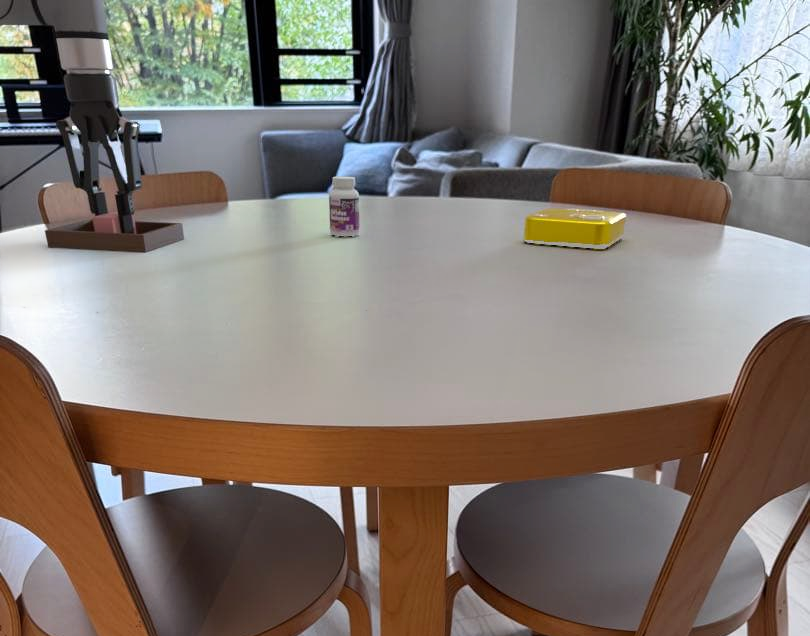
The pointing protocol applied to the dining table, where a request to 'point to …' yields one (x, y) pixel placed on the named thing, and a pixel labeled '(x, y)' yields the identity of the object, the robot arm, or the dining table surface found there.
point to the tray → (115, 237)
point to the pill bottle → (344, 207)
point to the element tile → (574, 226)
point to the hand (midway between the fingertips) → (116, 235)
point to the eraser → (109, 223)
